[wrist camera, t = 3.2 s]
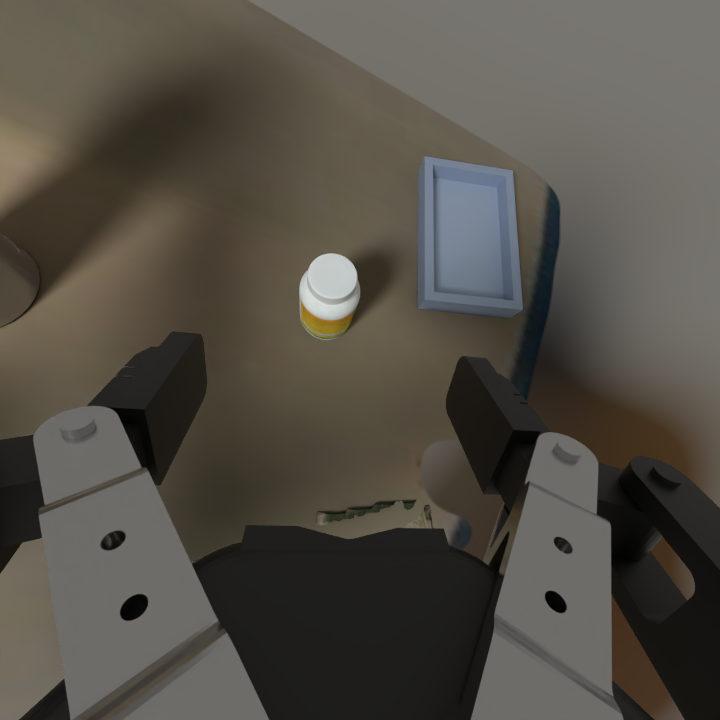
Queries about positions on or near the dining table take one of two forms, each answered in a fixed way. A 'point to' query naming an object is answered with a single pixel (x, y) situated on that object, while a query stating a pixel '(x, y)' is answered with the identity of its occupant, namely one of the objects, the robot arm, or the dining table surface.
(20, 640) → the dining table surface
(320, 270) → the supplement bottle
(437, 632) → the robot arm
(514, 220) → the tray
